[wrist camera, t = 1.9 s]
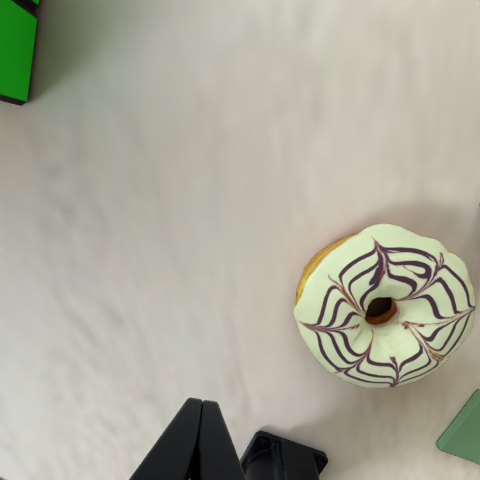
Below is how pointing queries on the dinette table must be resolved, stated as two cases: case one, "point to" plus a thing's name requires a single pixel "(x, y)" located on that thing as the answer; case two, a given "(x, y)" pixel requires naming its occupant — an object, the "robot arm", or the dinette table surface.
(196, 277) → the dinette table surface
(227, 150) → the dinette table surface
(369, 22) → the dinette table surface
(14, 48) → the puzzle cube
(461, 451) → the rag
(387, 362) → the decorated donut
